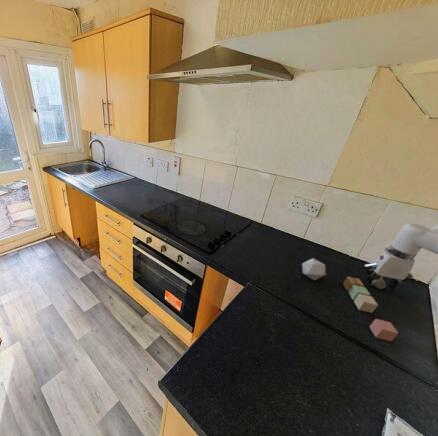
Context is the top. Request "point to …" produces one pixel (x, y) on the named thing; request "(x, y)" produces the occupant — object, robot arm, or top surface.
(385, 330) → the block
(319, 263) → the die
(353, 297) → the block
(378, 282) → the figurine
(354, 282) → the block
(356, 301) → the block
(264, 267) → the top surface
